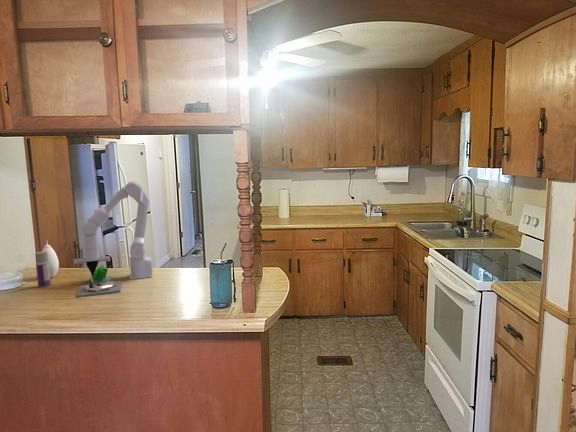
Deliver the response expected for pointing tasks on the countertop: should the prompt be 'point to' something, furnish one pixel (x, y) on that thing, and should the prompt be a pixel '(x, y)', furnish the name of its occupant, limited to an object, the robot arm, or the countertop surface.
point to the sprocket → (99, 285)
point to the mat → (105, 279)
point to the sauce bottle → (51, 260)
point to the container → (42, 269)
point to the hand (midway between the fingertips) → (93, 277)
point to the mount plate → (114, 289)
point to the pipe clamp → (100, 274)
